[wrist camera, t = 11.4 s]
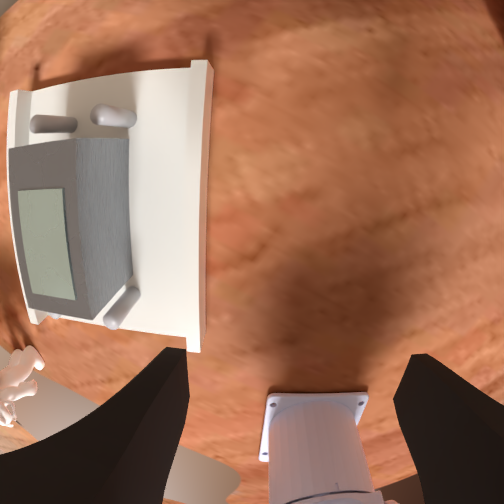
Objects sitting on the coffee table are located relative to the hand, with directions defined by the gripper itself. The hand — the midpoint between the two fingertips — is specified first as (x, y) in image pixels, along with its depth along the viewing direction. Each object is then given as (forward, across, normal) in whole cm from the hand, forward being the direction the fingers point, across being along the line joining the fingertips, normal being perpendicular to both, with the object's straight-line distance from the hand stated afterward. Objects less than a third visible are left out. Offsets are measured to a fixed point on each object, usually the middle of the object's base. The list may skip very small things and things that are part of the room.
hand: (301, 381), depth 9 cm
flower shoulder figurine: (+10, +22, +11) cm, 27 cm away
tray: (+10, +11, -3) cm, 15 cm away
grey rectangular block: (+9, +11, -3) cm, 15 cm away
